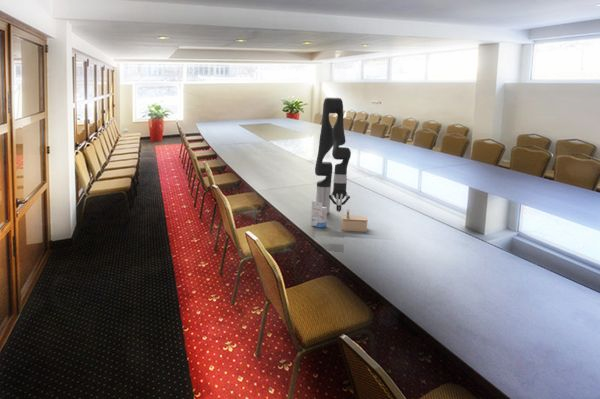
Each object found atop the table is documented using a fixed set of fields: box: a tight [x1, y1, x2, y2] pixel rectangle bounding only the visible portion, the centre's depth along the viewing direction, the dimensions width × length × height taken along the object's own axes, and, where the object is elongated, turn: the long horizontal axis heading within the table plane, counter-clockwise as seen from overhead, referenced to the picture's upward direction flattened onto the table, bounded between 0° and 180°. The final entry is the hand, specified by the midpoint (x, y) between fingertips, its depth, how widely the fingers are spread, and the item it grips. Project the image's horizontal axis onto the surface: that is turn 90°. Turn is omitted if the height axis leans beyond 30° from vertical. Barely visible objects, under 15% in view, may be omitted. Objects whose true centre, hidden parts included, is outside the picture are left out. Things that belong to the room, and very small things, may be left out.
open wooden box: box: [341, 220, 368, 233], centre depth 236 cm, size 11×14×6 cm
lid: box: [341, 209, 368, 222], centre depth 235 cm, size 11×14×4 cm
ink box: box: [310, 200, 328, 229], centre depth 240 cm, size 8×5×15 cm, turn 47°
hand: (338, 211), depth 235 cm, fingers closed
